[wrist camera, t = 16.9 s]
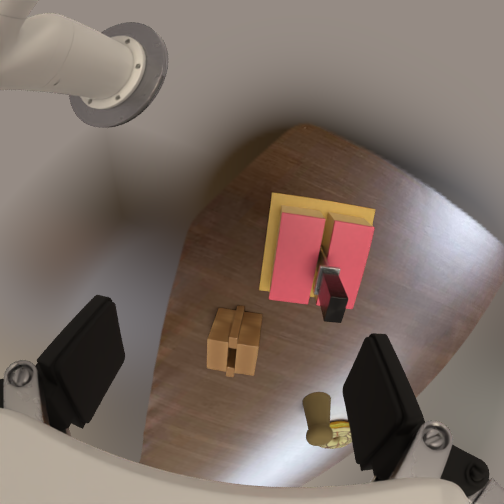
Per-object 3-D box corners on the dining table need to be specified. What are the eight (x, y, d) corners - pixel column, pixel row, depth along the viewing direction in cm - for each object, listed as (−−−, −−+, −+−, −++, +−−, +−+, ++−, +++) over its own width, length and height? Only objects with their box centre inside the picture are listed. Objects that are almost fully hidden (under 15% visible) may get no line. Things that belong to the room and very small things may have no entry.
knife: (306, 262, 41) (319, 324, 26) (311, 239, 39) (328, 292, 25) (322, 264, 41) (342, 326, 26) (327, 241, 39) (352, 295, 25)
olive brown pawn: (328, 389, 50) (334, 432, 40) (332, 405, 52) (337, 445, 42) (299, 395, 52) (301, 438, 41) (305, 411, 54) (307, 451, 43)
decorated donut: (314, 442, 59) (315, 453, 55) (312, 422, 55) (313, 434, 52) (353, 436, 57) (355, 447, 53) (356, 415, 53) (359, 427, 50)
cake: (259, 288, 43) (256, 307, 38) (272, 192, 38) (271, 199, 33) (351, 300, 43) (359, 318, 38) (374, 209, 37) (387, 218, 32)
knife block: (216, 339, 48) (206, 372, 40) (219, 302, 45) (207, 333, 37) (257, 345, 48) (253, 380, 40) (263, 308, 45) (259, 341, 37)
